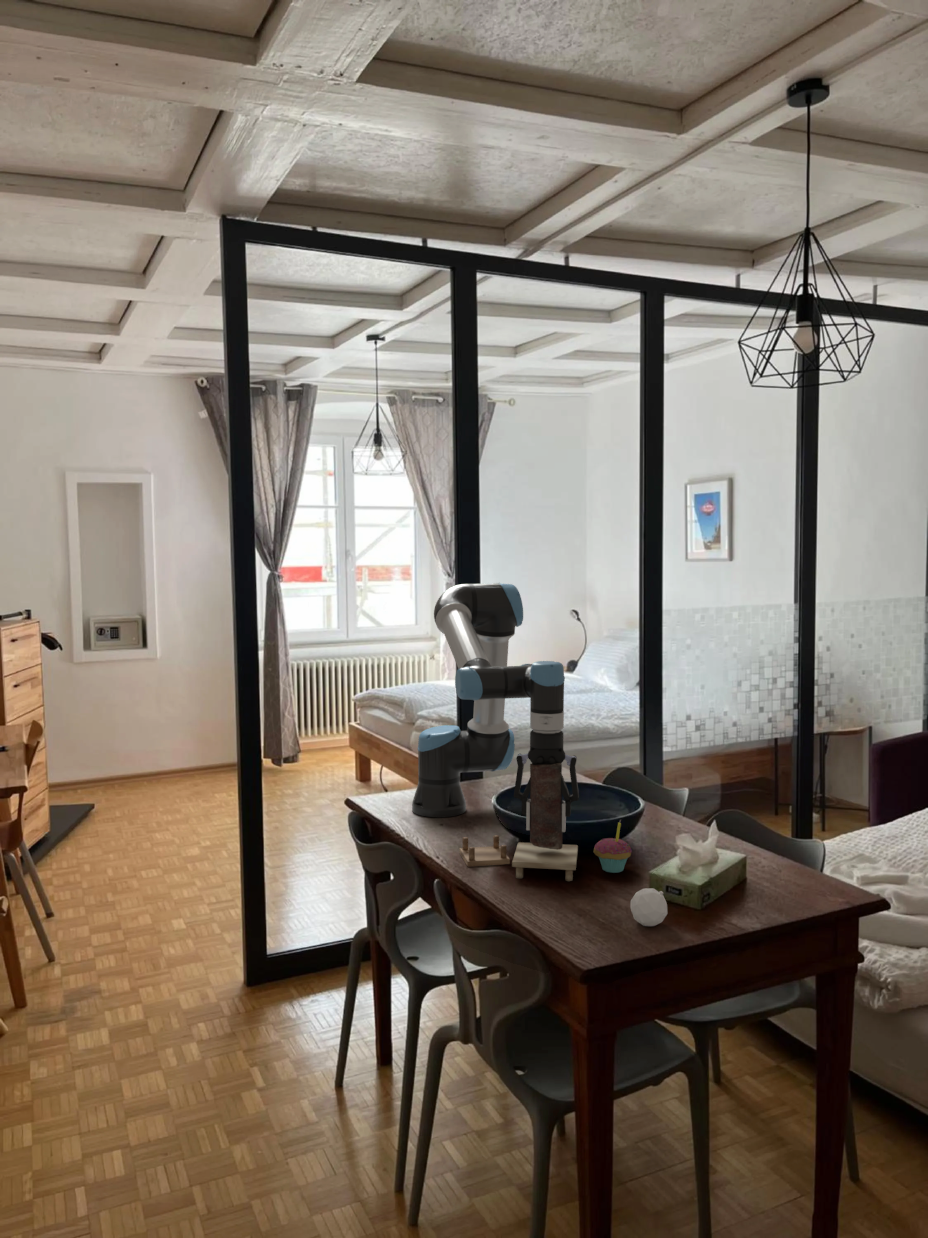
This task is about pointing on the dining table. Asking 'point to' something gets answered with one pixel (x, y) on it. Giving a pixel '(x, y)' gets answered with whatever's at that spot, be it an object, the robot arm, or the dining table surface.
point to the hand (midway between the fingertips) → (546, 829)
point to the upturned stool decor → (484, 854)
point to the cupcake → (613, 853)
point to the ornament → (649, 907)
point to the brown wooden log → (546, 806)
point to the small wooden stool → (545, 858)
